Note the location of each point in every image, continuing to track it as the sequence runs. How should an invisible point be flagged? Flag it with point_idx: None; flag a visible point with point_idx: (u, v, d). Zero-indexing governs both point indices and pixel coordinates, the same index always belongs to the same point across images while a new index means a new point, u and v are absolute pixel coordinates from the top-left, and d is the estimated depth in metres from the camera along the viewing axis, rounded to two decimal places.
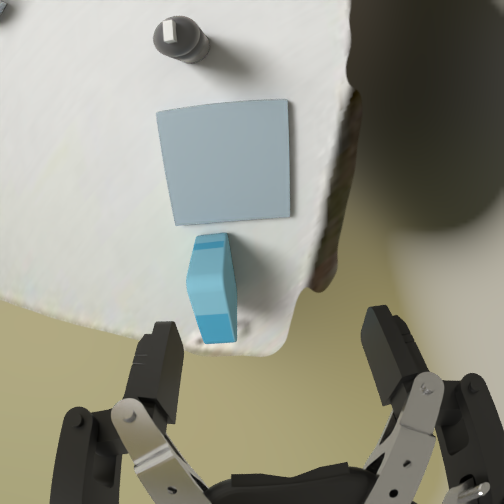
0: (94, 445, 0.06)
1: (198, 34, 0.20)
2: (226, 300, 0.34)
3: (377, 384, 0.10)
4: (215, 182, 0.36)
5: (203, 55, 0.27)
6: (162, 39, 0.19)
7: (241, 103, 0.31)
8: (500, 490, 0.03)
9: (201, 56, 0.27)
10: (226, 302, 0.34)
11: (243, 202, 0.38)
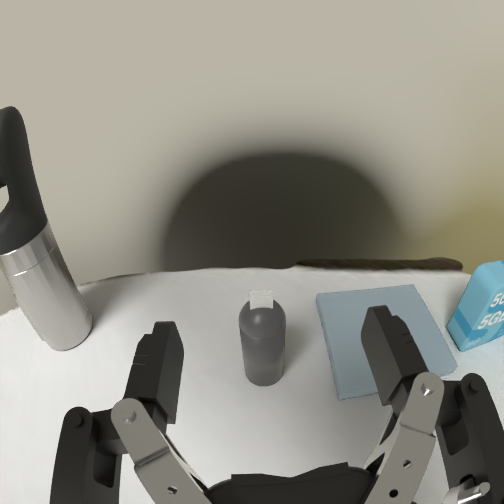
0: (94, 445, 0.06)
1: None
2: (490, 262, 0.26)
3: (377, 384, 0.10)
4: None
5: None
6: (267, 313, 0.25)
7: (326, 322, 0.35)
8: (500, 490, 0.03)
9: None
10: (492, 262, 0.26)
11: (414, 314, 0.35)
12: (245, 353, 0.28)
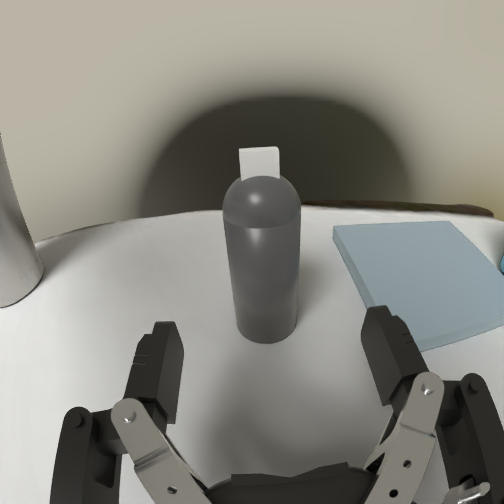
0: (94, 445, 0.06)
1: None
2: None
3: (377, 384, 0.10)
4: (458, 271, 0.21)
5: None
6: (270, 182, 0.14)
7: (352, 254, 0.25)
8: (500, 490, 0.03)
9: None
10: None
11: (461, 249, 0.24)
12: (234, 275, 0.17)
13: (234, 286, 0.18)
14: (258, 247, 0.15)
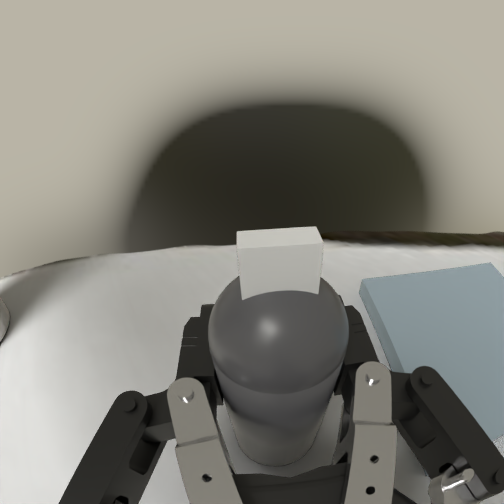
0: (140, 433, 0.07)
1: None
2: None
3: None
4: None
5: None
6: (301, 310, 0.07)
7: (389, 328, 0.17)
8: (486, 470, 0.04)
9: None
10: None
11: None
12: (232, 416, 0.10)
13: (232, 421, 0.10)
14: (272, 410, 0.08)
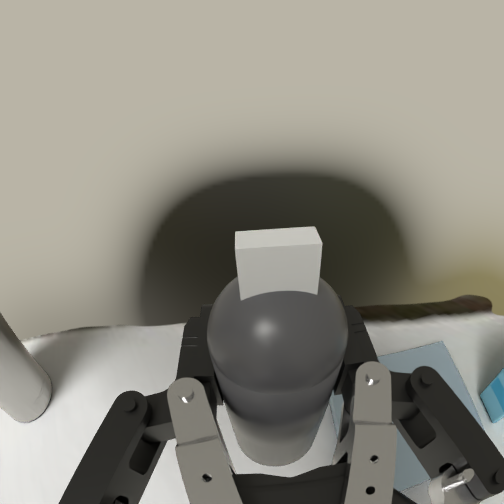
0: (141, 433, 0.07)
1: None
2: None
3: None
4: None
5: None
6: (300, 310, 0.07)
7: (337, 408, 0.24)
8: (486, 470, 0.04)
9: None
10: None
11: None
12: (232, 416, 0.10)
13: (231, 421, 0.10)
14: (271, 410, 0.08)
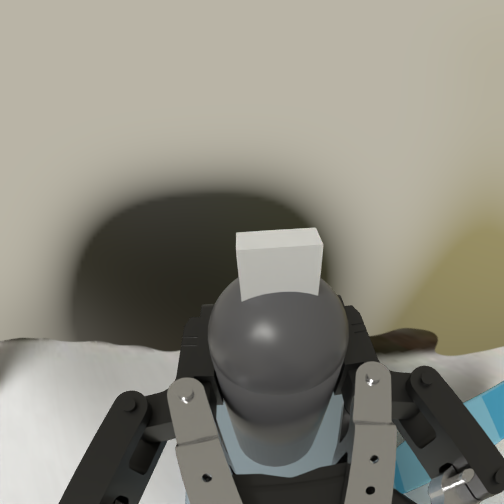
0: (141, 433, 0.07)
1: None
2: None
3: None
4: None
5: None
6: (300, 311, 0.07)
7: None
8: (486, 470, 0.04)
9: None
10: (464, 403, 0.13)
11: (329, 446, 0.22)
12: (232, 417, 0.10)
13: (232, 422, 0.10)
14: (272, 411, 0.08)
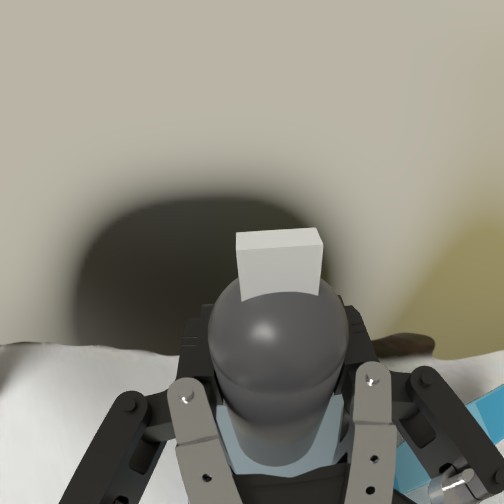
0: (141, 433, 0.07)
1: None
2: None
3: None
4: None
5: None
6: (301, 311, 0.07)
7: None
8: (486, 470, 0.04)
9: None
10: None
11: (327, 448, 0.22)
12: (232, 417, 0.10)
13: (232, 422, 0.10)
14: (272, 411, 0.08)
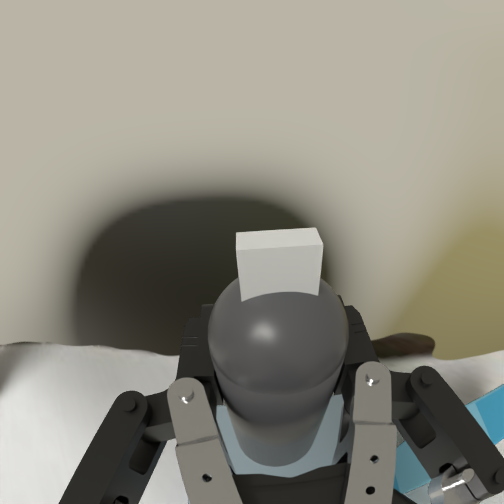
0: (141, 433, 0.07)
1: None
2: None
3: None
4: None
5: None
6: (301, 311, 0.07)
7: None
8: (486, 470, 0.04)
9: None
10: None
11: (327, 448, 0.22)
12: (232, 417, 0.10)
13: (232, 422, 0.10)
14: (272, 411, 0.08)
